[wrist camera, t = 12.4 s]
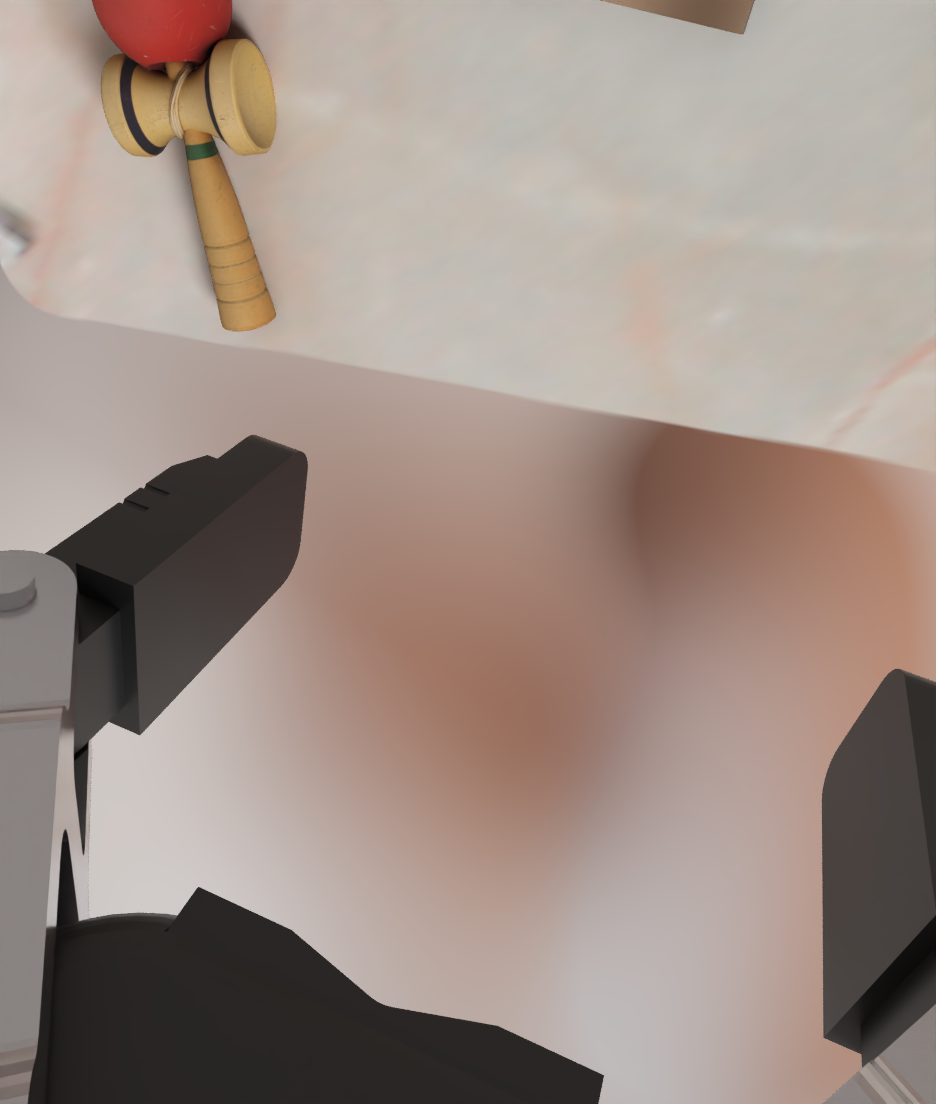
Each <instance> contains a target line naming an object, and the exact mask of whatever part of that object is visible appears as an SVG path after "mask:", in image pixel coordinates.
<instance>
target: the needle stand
mask: <svg viewBox="0 0 936 1104" xmlns="http://www.w3.org/2000/svg"><path fill="white" fill-rule="evenodd" d="M601 1H605V2H609V3H614V4H618V5H622V6H626V7H630V8H634V9H638V10H642V11H647V12H651V13H655V14H659V15H663V16H667V17H671V18H675V19H680V20H684V21H688V22H692V23H696V24H700V25H704V26H708V27H713V28H717V29H721V30H725V31H729V32H733V33H737V34H744V31H745V28H746V25H747V22H748V19H749V16H750V13H751V10H752V7H753V4H754V1H755V0H601Z"/></svg>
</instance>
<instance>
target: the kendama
mask: <svg viewBox="0 0 936 1104" xmlns="http://www.w3.org/2000/svg"><path fill="white" fill-rule="evenodd" d="M92 2H93V6H94V9H95V12H96V14H97V17H98V19H99V21H100V23H101V25H102V27H103V28H104V30H105V31H106V33H107V34H108V36H109V37H110V39H111V40H112V41H113V42H114V43H115V44H116V46H117V47H118V48H119V49H120V50H121V51H122V52H123V54H118V55H114V56H112V57H111V58H109V59H108V60H107V62H106V64H105V66H104V68H103V71H102V77H101V95H102V102H103V108H104V112H105V116H106V119H107V122H108V125H109V127H110V129H111V131H112V133H113V135H114V137H115V139H116V140H117V142H118V143H119V144H120V146H121V147H122V148H123V149H124V150H126V151H127V152H128V153H130V154H131V155H134V156H143V157H153V156H157V155H158V154H160V153H161V152H162V151H163V150H164V148H165V147H166V145H167V144H168V142H169V141H170V140H171V139H172V138H173V137H175V136H177V137H178V138H180V139H184V142H185V145H186V154H187V161H188V167H189V174H190V180H191V186H192V192H193V198H194V203H195V208H196V213H197V218H198V222H199V227H200V231H201V235H202V239H203V243H204V244H205V252H206V256H207V260H208V262H209V268H210V273H211V277H212V280H213V286H214V290H215V293H216V297H217V304H218V309H219V314H220V319H221V323H222V326H223V328H225V329H227V330H230V331H248V330H253V329H256V328H259V327H261V326H264V325H266V324H268V323H269V322H270V321H272V320H273V319H274V318H275V316H276V312H275V309H274V306H273V303H272V301H271V298H270V295H269V292H268V290H267V288H266V284H265V281H264V278H263V275H262V272H261V270H260V266H259V263H258V260H257V257H256V255H255V252H254V248H253V245H252V242H251V238H250V237H249V236H248V235H249V233H248V229H247V226H246V223H245V220H244V217H243V214H242V211H241V208H240V205H239V202H238V199H237V197H236V194H235V191H234V189H233V186H232V184H231V181H230V179H229V176H228V174H227V171H226V169H225V167H224V164H223V161H222V159H221V157H220V155H219V152H218V149H217V147H216V145H215V142H214V140H213V138H212V135H214V136H216V137H218V138H220V139H221V140H223V141H224V142H225V143H226V144H227V145H228V146H229V147H230V148H231V149H232V150H233V151H234V152H235V153H237V154H239V155H244V156H245V155H254V154H263V153H266V152H267V151H268V150H269V149H270V148H271V145H272V143H273V140H274V136H275V130H276V104H275V96H274V89H273V85H272V80H271V77H270V73H269V70H268V67H267V65H266V63H265V60H264V58H263V56H262V54H261V53H260V51H259V50H258V48H257V47H256V46H255V44H254V43H252V42H251V41H250V40H248V39H226V37H227V34H228V31H229V28H230V24H231V18H232V0H92ZM163 70H164V71H163Z"/></svg>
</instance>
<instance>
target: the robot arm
mask: <svg viewBox="0 0 936 1104" xmlns="http://www.w3.org/2000/svg"><path fill="white" fill-rule="evenodd" d="M307 470H308V463H307V458H306V455H305V454H304V453H303V452H301V451H298V450H296V449H293V448H290V447H287V446H285V445H282V444H279V443H276V442H274V441H271V440H268V439H265V438H262V437H259V436H257V435H251V436H249V437H247V438H245V439H244V440H243V441H241V442H240V443H238V444H237V445H236V446H234V447H233V448H232V449H230V450H229V451H228V452H226V453H225V454H223V455H222V456H221V457H219V458H218V459H216V458H214V457H211V456H208V455H206V456H203V457H200V458H196V459H193V460H190V461H187V462H183V463H180V464H177V465H174V466H171V467H170V468H168V469H167V470H165V471H164V472H162V473H161V474H160V475H158V476H157V477H155V478H154V479H152V480H151V481H149V482H148V483H146V486H145V488H144V489H143V488H139V489H138V490H136V491H135V492H133V493H132V494H131V495H129V496H128V497H126V498H125V499H124V502H123V504H122V503H117V504H116V505H115V506H113V507H112V508H110V509H109V510H107V511H106V512H104V513H103V514H102V515H100V516H99V517H98V518H96V519H94V520H93V521H92V522H90V523H89V524H87V525H86V526H84V527H83V528H81V529H80V530H78V531H77V532H76V533H74V534H73V535H71V536H70V537H68V538H67V539H66V540H64V541H63V542H61V543H60V544H58V545H57V546H55V547H54V548H52V549H51V550H49V551H48V552H47V553H45V554H43V553H38V552H33V551H24V550H22V551H21V550H9V551H0V1104H598V1102H599V1097H600V1092H601V1088H602V1082H603V1077H604V1075H602V1074H600V1073H598V1072H595V1071H593V1070H591V1069H589V1068H587V1067H585V1066H583V1065H580V1064H578V1063H576V1062H574V1061H572V1060H570V1059H567V1058H565V1057H563V1056H561V1055H559V1054H557V1053H555V1052H552V1051H550V1050H548V1049H546V1048H544V1047H542V1046H540V1045H537V1044H535V1043H533V1042H531V1041H529V1040H527V1039H524V1038H522V1037H520V1036H518V1035H516V1034H514V1033H511V1032H509V1031H507V1030H505V1029H503V1028H501V1027H499V1026H494V1025H488V1024H483V1023H478V1022H472V1021H467V1020H461V1019H455V1018H450V1017H444V1016H438V1015H433V1014H427V1013H422V1012H416V1011H410V1010H405V1009H399V1008H393V1007H389V1006H385V1005H383V1004H381V1003H379V1002H377V1001H375V1000H374V999H372V998H371V997H370V996H369V995H367V994H366V993H365V992H364V991H363V990H362V989H360V988H359V987H358V986H357V985H355V984H354V983H353V982H352V981H351V980H350V979H349V978H347V977H346V976H345V975H344V974H343V973H341V972H340V971H339V970H338V969H337V968H336V967H334V966H333V965H332V964H331V963H330V962H329V961H327V960H326V959H325V958H324V957H323V956H321V955H320V954H319V953H318V952H317V951H316V950H314V949H313V948H312V947H311V946H310V945H308V944H307V943H306V942H305V941H303V940H302V939H301V938H300V937H299V936H298V935H297V934H295V933H294V932H293V931H292V930H290V929H288V928H286V927H283V926H281V925H279V924H277V923H275V922H273V921H270V920H269V919H266V918H264V917H262V916H260V915H258V914H256V913H253V912H251V911H249V910H247V909H245V908H243V907H241V906H238V905H236V904H234V903H232V902H230V901H228V900H225V899H223V898H221V897H219V896H217V895H215V894H213V893H210V892H208V891H206V890H204V889H202V888H200V887H198V888H197V889H196V891H195V892H194V893H193V895H192V896H191V898H190V899H189V900H188V902H187V903H186V905H185V906H184V907H183V909H182V910H181V912H180V913H179V914H178V916H176V915H170V914H156V913H128V914H113V915H107V916H101V917H96V918H90V919H89V903H88V902H89V901H88V862H89V831H90V801H91V771H92V770H91V769H92V745H91V738H92V737H93V736H94V735H95V734H96V733H97V732H98V731H99V730H100V729H101V728H102V727H103V726H104V725H106V724H107V723H108V722H111V723H113V724H115V725H118V726H120V727H122V728H125V729H127V730H129V731H131V732H134V733H136V734H138V735H141V734H142V733H143V731H145V729H146V728H147V727H148V726H149V725H150V724H151V723H152V722H153V721H154V720H155V719H156V718H157V717H158V716H159V715H160V714H161V712H162V711H163V710H164V709H165V708H166V707H167V706H168V705H169V704H170V703H171V702H172V701H173V700H174V699H175V698H176V696H178V695H179V693H180V692H181V691H182V690H183V689H184V688H185V687H186V686H187V685H188V684H189V683H190V682H191V681H192V680H193V679H194V678H195V676H196V675H198V673H199V672H200V671H201V670H202V669H203V668H204V667H205V666H206V665H207V664H208V663H209V662H210V661H211V660H212V659H213V657H215V655H216V654H217V653H218V652H219V651H220V650H221V649H222V648H223V647H224V646H225V645H226V644H227V643H228V642H229V641H230V640H231V639H232V638H233V636H234V635H235V634H236V633H237V632H238V631H239V630H240V629H241V628H242V627H243V626H244V625H245V624H246V623H247V622H248V621H249V619H251V617H252V616H253V615H254V614H255V613H256V612H257V611H258V610H259V609H260V608H261V607H262V606H263V605H264V604H265V603H266V602H267V601H268V599H269V598H270V597H271V596H272V595H273V594H274V593H275V592H276V591H277V590H278V589H279V588H280V587H281V585H282V584H283V583H284V582H285V581H286V579H287V578H288V576H289V574H290V572H291V570H292V569H293V566H294V564H295V561H296V559H297V556H298V552H299V547H300V542H301V532H302V521H303V511H304V501H305V490H306V481H307ZM822 860H823V861H822V864H823V865H822V866H823V867H822V869H823V872H822V873H823V1014H824V1015H823V1016H824V1017H823V1020H824V1021H823V1022H824V1038H826V1039H828V1040H830V1041H832V1042H835V1043H837V1044H839V1045H842V1046H844V1047H846V1048H848V1049H851V1050H853V1051H855V1052H858V1053H860V1054H862V1069H861V1070H859V1071H858V1072H857V1073H856V1074H855V1075H854V1076H853V1077H852V1078H850V1079H849V1080H848V1081H847V1082H846V1083H845V1084H844V1085H843V1086H842V1087H841V1088H839V1089H838V1090H837V1091H836V1092H835V1093H834V1094H833V1095H832V1096H831V1097H829V1098H828V1099H827V1100H826V1101H825V1102H824V1103H823V1104H936V682H934V681H931V680H929V679H926V678H923V677H920V676H917V675H915V674H912V673H909V672H906V671H904V670H901V669H894V670H893V671H891V672H890V673H889V674H888V675H887V676H886V677H885V678H884V680H883V681H882V682H881V684H880V686H879V687H878V689H877V690H876V692H875V693H874V695H873V696H872V698H871V699H870V701H869V702H868V704H867V705H866V707H865V708H864V710H863V711H862V713H861V714H860V716H859V717H858V719H857V720H856V722H855V723H854V725H853V726H852V728H851V729H850V731H849V733H848V734H847V735H846V737H845V739H844V740H843V742H842V743H841V745H840V746H839V748H838V749H837V751H836V752H835V754H834V756H833V759H832V761H831V763H830V765H829V768H828V771H827V774H826V777H825V782H824V786H823V793H822Z"/></svg>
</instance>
